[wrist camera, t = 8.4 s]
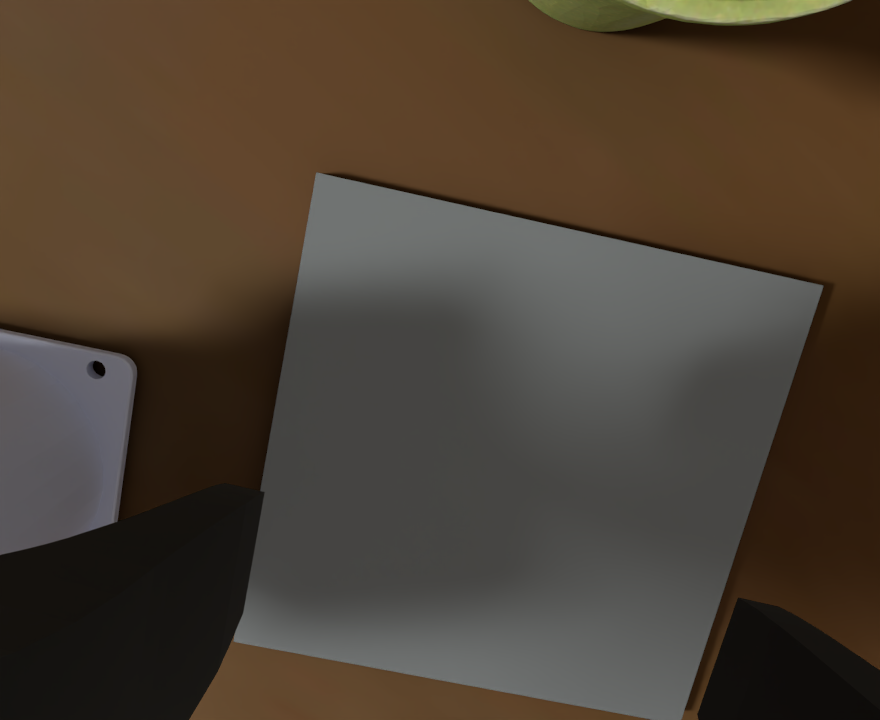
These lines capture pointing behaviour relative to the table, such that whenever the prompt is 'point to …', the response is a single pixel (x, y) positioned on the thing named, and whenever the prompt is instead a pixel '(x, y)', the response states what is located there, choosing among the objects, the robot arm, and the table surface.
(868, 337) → the table surface
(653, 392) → the mat
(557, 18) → the plant pot
